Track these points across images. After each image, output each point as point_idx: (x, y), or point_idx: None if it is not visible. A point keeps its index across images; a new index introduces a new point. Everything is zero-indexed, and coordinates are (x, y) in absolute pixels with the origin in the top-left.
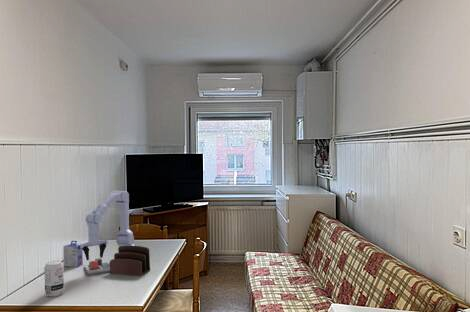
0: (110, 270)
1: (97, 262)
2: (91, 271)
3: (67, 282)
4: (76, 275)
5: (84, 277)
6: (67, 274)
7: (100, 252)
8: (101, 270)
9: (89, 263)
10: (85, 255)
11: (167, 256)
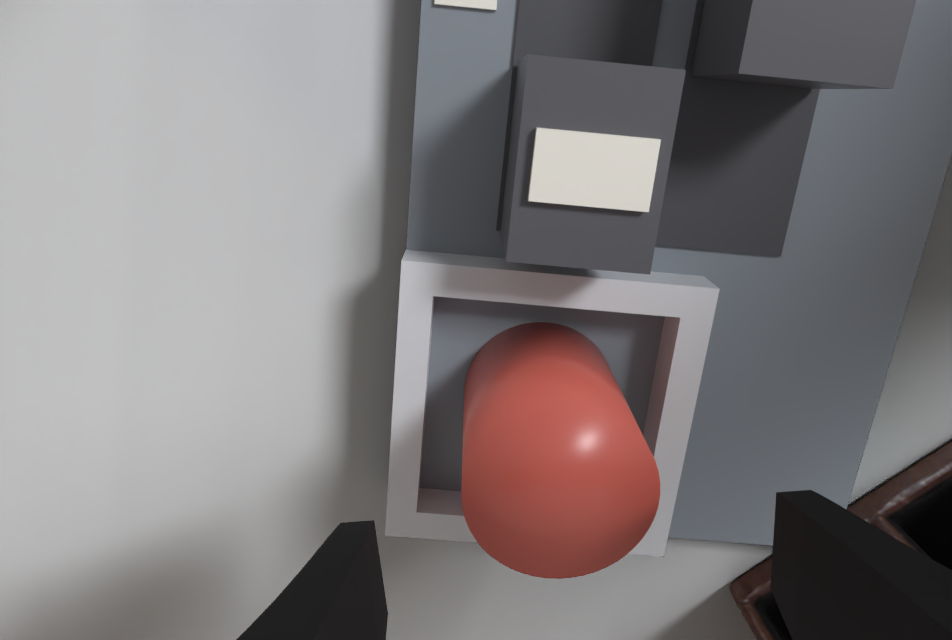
0: (756, 631)
1: (614, 546)
2: (440, 530)
3: (30, 618)
4: (198, 344)
5: (310, 536)
6: (33, 162)
7: (861, 624)
8: None
9: (521, 89)
10: (277, 605)
11: None
